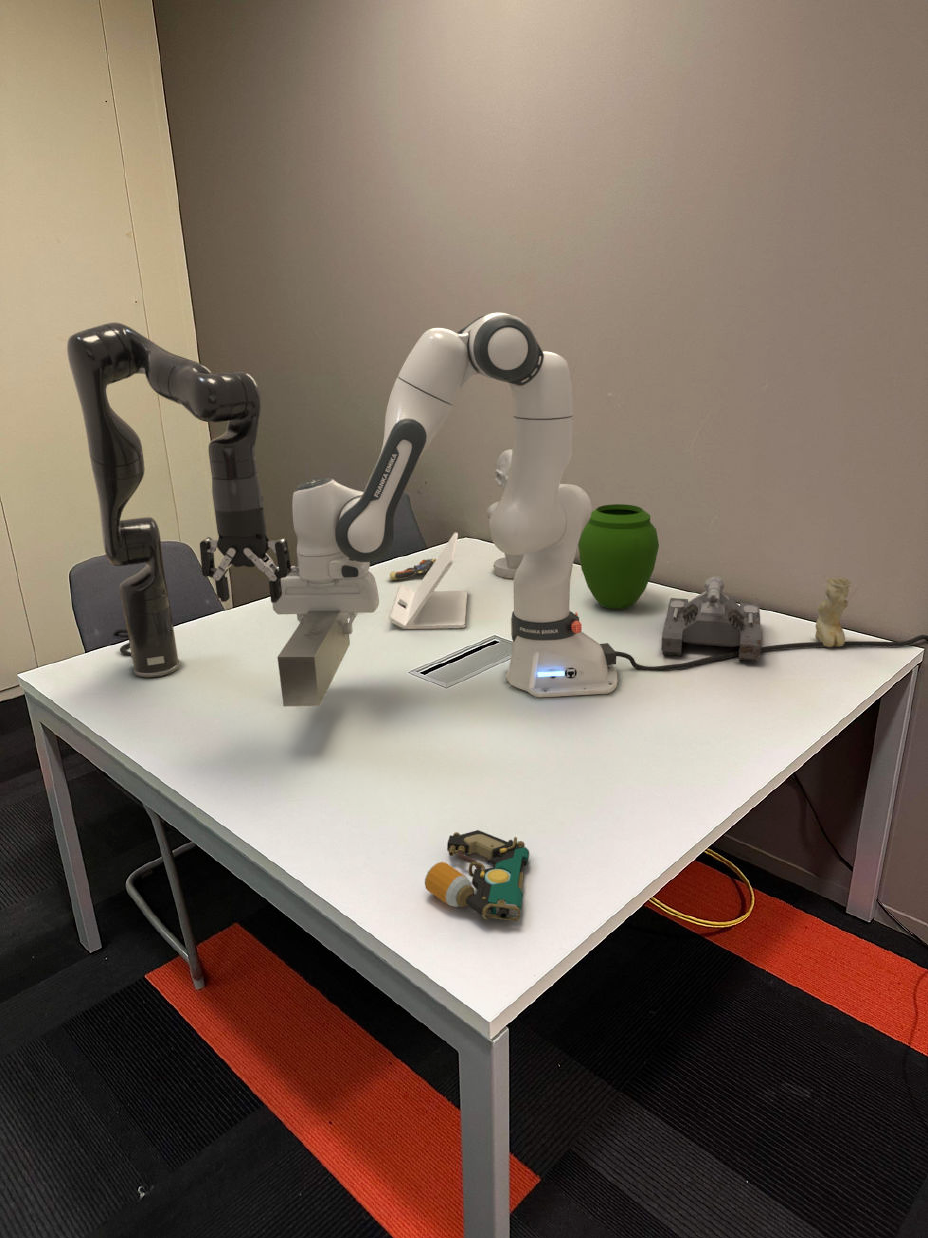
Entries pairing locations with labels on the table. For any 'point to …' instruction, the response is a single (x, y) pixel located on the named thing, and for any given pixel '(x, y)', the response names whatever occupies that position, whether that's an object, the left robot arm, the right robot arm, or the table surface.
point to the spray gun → (482, 875)
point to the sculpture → (832, 613)
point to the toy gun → (413, 570)
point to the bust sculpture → (510, 562)
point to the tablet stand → (431, 599)
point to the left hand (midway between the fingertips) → (250, 600)
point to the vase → (618, 554)
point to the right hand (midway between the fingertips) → (329, 633)
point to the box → (312, 657)
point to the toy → (713, 622)
